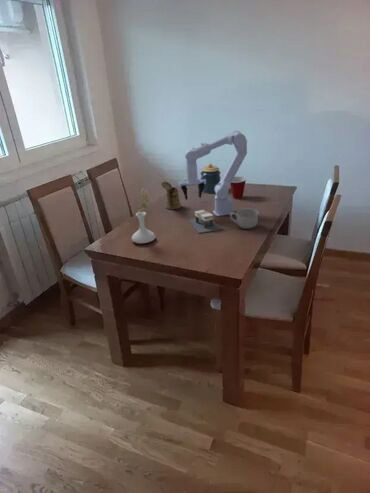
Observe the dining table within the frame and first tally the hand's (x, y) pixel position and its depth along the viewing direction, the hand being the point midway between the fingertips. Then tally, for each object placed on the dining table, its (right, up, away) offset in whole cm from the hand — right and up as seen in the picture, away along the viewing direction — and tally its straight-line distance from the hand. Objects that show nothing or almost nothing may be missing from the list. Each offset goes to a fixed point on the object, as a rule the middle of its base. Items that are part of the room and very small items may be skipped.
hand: (193, 198), depth 197 cm
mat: (+6, -15, -9) cm, 19 cm away
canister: (+13, +11, +43) cm, 46 cm away
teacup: (+25, -16, -13) cm, 33 cm away
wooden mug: (-12, -4, +17) cm, 21 cm away
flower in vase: (-24, -23, -21) cm, 39 cm away
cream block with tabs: (+6, -15, -10) cm, 18 cm away
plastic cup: (+28, +4, +27) cm, 39 cm away
